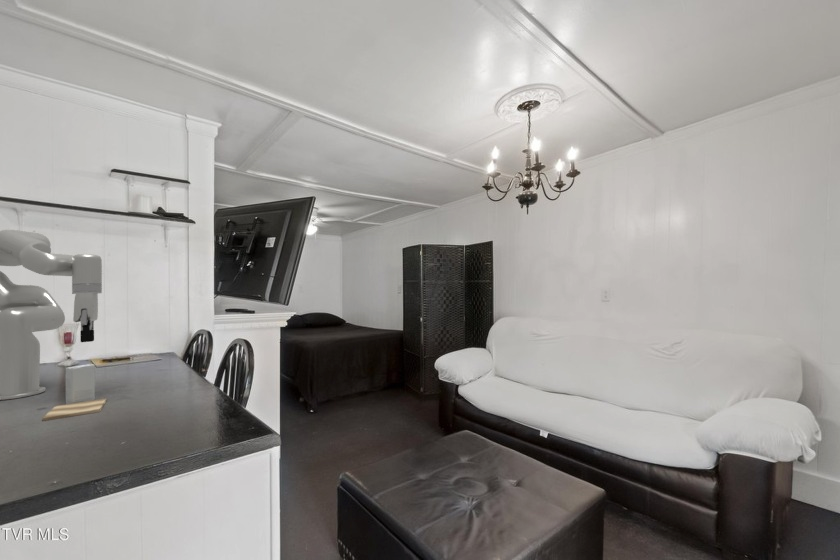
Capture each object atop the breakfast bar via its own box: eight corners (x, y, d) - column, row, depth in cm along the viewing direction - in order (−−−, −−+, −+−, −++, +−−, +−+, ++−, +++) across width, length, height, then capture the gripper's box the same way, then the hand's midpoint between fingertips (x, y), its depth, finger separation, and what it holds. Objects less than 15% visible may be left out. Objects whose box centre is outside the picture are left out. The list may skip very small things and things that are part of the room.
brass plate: (55, 408, 107) (55, 405, 107) (106, 400, 114) (106, 398, 114) (42, 421, 97) (42, 418, 97) (99, 411, 103) (99, 409, 104)
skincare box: (88, 398, 116) (88, 363, 117) (95, 400, 115) (96, 364, 115) (64, 404, 111) (64, 367, 111) (71, 406, 109) (72, 368, 109)
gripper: (77, 290, 124) (77, 340, 123) (66, 289, 112) (66, 345, 111) (105, 289, 128) (105, 338, 128) (97, 288, 116) (97, 342, 116)
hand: (87, 341), depth 119 cm, fingers closed
